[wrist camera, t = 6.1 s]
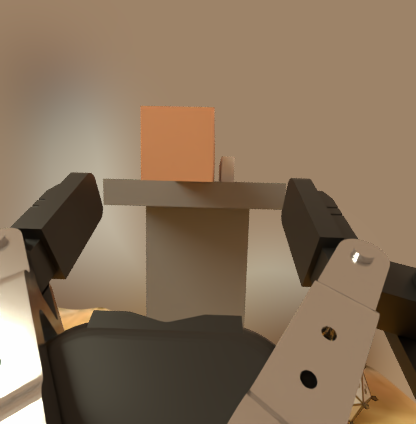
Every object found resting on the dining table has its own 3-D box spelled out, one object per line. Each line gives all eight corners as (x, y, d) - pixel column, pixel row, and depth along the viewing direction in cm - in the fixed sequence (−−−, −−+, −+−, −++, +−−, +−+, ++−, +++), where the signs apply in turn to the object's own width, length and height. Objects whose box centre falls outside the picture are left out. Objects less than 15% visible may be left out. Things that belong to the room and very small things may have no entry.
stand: (89, 529, 24) (76, 151, 20) (141, 384, 41) (140, 165, 37) (286, 540, 23) (314, 157, 19) (256, 390, 40) (268, 168, 36)
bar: (212, 182, 11) (214, 107, 10) (140, 179, 11) (140, 106, 11) (214, 181, 33) (214, 157, 32) (190, 180, 33) (190, 156, 32)
